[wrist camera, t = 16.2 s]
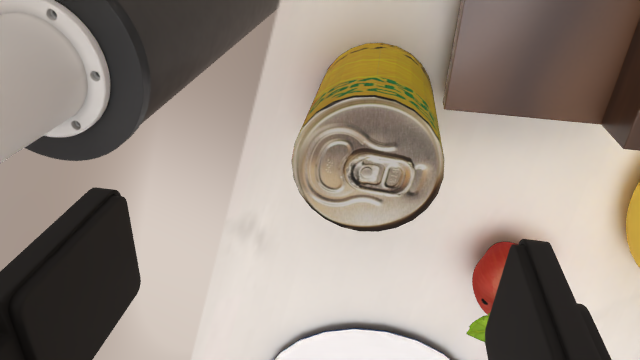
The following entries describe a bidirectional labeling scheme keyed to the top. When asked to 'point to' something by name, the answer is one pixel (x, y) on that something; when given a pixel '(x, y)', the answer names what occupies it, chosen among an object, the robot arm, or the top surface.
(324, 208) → the beverage can
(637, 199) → the teapot
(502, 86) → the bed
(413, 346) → the plate
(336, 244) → the top surface
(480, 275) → the apple
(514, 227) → the top surface
